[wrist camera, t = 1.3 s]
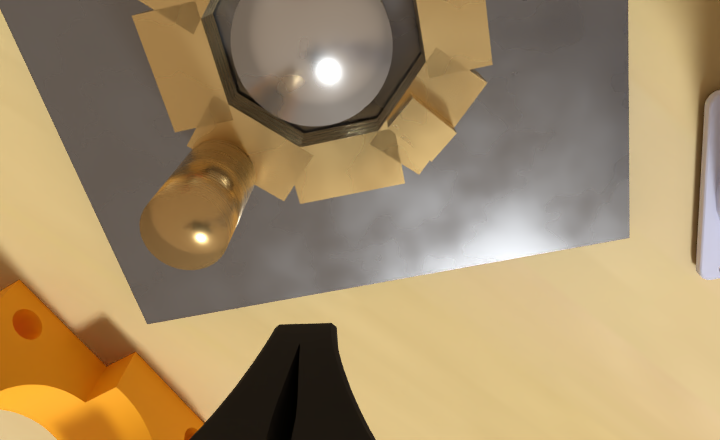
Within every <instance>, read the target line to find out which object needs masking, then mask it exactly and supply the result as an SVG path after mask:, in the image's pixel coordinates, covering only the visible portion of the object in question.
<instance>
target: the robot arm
mask: <svg viewBox="0 0 720 440" xmlns="http://www.w3.org/2000/svg"><path fill="white" fill-rule="evenodd" d="M719 267H720V90H717V91H715V92H713V93H712V94H711V95H709V97H708V98H707V100H706V102H705V108H704V127H703V145H702V164H701V182H700V201H699V219H698V238H697V256H696V271H697V273H698V274H699V275H700V276H701V277H702V278H704V279H706V280H713V279H719V278H720V268H719ZM189 440H376V439H375V438H374V436H373V434H372V432H371V431H370V429H369V427H368V425H367V423H366V421H365V419H364V417H363V415H362V413H361V411H360V409H359V407H358V404H357V402H356V400H355V398H354V395H353V393H352V391H351V388H350V385H349V383H348V380H347V377H346V374H345V372H344V369H343V365H342V362H341V358H340V354H339V350H338V339H337V327H336V326H334V325H333V324H332V323H320V324H285V325H278V326H277V327H276V328H275V329H274V331H273V333H272V335H271V336H270V338H269V339H268V341H267V343H266V344H265V346H264V347H263V349H262V350H261V352H260V353H259V355H258V356H257V358H256V359H255V361H254V362H253V364H252V365H251V366H250V368H249V369H248V371H247V372H246V373H245V375H244V376H243V377H242V379H241V380H240V381H239V383H238V384H237V385H236V387H235V388H234V389H233V391H232V392H231V393H230V394H229V395H228V397H227V398H226V399H225V400H224V401H223V403H222V404H221V405H220V406H219V407H218V409H217V410H216V411H215V412H214V413H213V415H212V416H211V417H210V418H209V419H208V420H207V421H206V422H205V423H204V425H203V426H202V427H201V428H200V429H199V430H198V431H197V432H196V433H195V434H194V435H193V436H192V437H191V438H190V439H189Z"/></svg>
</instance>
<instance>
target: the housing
mask: <svg viewBox="0 0 720 440" xmlns="http://www.w3.org/2000/svg"><path fill="white" fill-rule="evenodd" d="M0 9H1V11H2V14H3V16H4V18H5V20H6V22H7V24H8V26H9V29H10V31H11V33H12V35H13V37H14V39H15V41H16V44H17V46H18V48H19V50H20V52H21V54H22V56H23V59H24V61H25V63H26V65H27V67H28V69H29V71H30V74H31V76H32V78H33V80H34V82H35V84H36V86H37V89H38V91H39V93H40V95H41V97H42V99H43V102H44V104H45V106H46V108H47V110H48V112H49V114H50V117H51V119H52V121H53V123H54V125H55V127H56V129H57V132H58V134H59V136H60V138H61V140H62V142H63V144H64V147H65V149H66V151H67V153H68V155H69V157H70V159H71V162H72V164H73V166H74V168H75V170H76V172H77V174H78V177H79V179H80V181H81V183H82V185H83V187H84V189H85V192H86V194H87V196H88V198H89V200H90V202H91V204H92V207H93V209H94V211H95V213H96V215H97V217H98V220H99V222H100V224H101V226H102V228H103V230H104V232H105V235H106V237H107V239H108V241H109V243H110V245H111V247H112V250H113V252H114V254H115V256H116V258H117V260H118V262H119V265H120V267H121V269H122V271H123V273H124V275H125V277H126V280H127V282H128V284H129V286H130V288H131V290H132V292H133V295H134V297H135V299H136V301H137V303H138V305H139V307H140V310H141V312H142V314H143V316H144V318H145V320H146V323H147V324H151V323H157V322H162V321H168V320H173V319H179V318H185V317H190V316H196V315H201V314H207V313H212V312H218V311H224V310H229V309H235V308H240V307H246V306H252V305H257V304H263V303H268V302H274V301H279V300H285V299H291V298H296V297H302V296H307V295H313V294H318V293H324V292H330V291H335V290H341V289H346V288H352V287H358V286H363V285H369V284H374V283H380V282H385V281H391V280H397V279H402V278H408V277H413V276H419V275H425V274H430V273H436V272H441V271H447V270H452V269H458V268H464V267H469V266H475V265H480V264H486V263H491V262H497V261H503V260H508V259H514V258H519V257H525V256H531V255H536V254H542V253H547V252H553V251H558V250H564V249H570V248H575V247H581V246H586V245H592V244H597V243H603V242H609V241H614V240H620V239H625V238H629V88H628V0H486V9H487V19H488V28H489V37H490V46H491V55H492V64H493V65H489V66H485V67H480V68H475V69H474V70H476V71H477V72H478V73H479V74H480V75H481V76H482V77H483V78H484V79H485V80H486V82H487V84H486V85H485V87H484V88H483V89H482V91H481V92H480V94H479V95H478V96H477V98H476V99H475V100H474V102H473V103H472V104H471V106H470V107H469V108H468V110H467V111H466V112H465V114H464V115H463V116H462V118H461V119H460V120H459V122H458V123H457V124H456V126H455V127H454V128H455V130H456V132H457V134H456V135H455V136H454V137H453V138H452V139H451V140H450V141H449V143H448V144H447V145H446V146H445V147H444V148H443V149H442V151H441V152H440V153H439V154H438V155H437V156H436V157H435V158H434V160H433V161H432V162H431V161H429V162H428V163H427V165H426V166H425V167H424V169H423V170H422V171H421V173H420V174H417V173H415V172H414V171H412V170H411V169H409V168H407V167H406V166H404V165H402V169H403V175H404V180H405V184H400V185H395V186H390V187H385V188H380V189H374V190H369V191H364V192H359V193H354V194H349V195H344V196H339V197H333V198H328V199H323V200H318V201H313V202H308V203H303V204H300V202H299V199H298V195H297V192H296V188H295V185H294V187H293V188H292V190H291V191H290V193H289V194H288V196H287V198H286V199H285V201H283V200H281V199H279V198H277V197H275V196H274V195H272V194H270V193H268V192H267V191H265V190H263V189H261V188H260V187H258V186H256V185H254V187H253V190H252V192H251V194H250V197H249V199H248V201H247V203H246V206H245V208H244V210H243V212H242V215H241V217H240V219H239V221H238V224H237V226H236V228H235V230H234V233H233V235H232V237H231V239H230V242H229V244H228V246H227V249H226V251H225V252H224V254H223V255H222V257H221V258H220V259H219V260H218V261H217V262H215V263H214V264H212V265H210V266H208V267H206V268H203V269H199V270H182V269H177V268H174V267H171V266H169V265H166V264H165V263H163V262H161V261H160V260H158V259H157V258H156V257H155V256H154V255H152V253H151V252H150V251H149V250H148V249H147V247H146V246H145V244H144V242H143V240H142V237H141V234H140V226H139V224H140V218H141V214H142V212H143V210H144V208H145V207H146V205H147V204H148V203H149V202H150V200H151V199H152V198H153V197H154V195H155V194H156V193H157V192H158V191H159V189H160V188H161V187H162V186H163V184H164V183H165V182H166V181H167V180H168V178H169V177H170V176H171V175H172V173H173V172H174V171H175V170H176V169H177V167H178V166H179V165H180V164H181V162H182V161H183V160H184V159H185V158H186V156H187V155H188V154H189V153H190V151H191V150H192V149H191V148H189V147H188V146H187V144H188V142H189V141H190V139H191V137H192V135H193V133H194V131H195V129H196V128H193V129H189V130H184V131H179V132H175V131H174V128H173V126H172V123H171V120H170V118H169V115H168V112H167V110H166V107H165V104H164V101H163V99H162V96H161V93H160V91H159V88H158V85H157V83H156V80H155V77H154V75H153V72H152V69H151V66H150V64H149V61H148V58H147V56H146V53H145V50H144V48H143V45H142V42H141V40H140V37H139V34H138V32H137V29H136V26H135V23H134V21H133V18H132V16H133V15H136V14H139V13H142V12H145V11H148V10H152V8H150V7H149V6H147V5H145V4H144V3H142V2H141V1H139V0H0ZM213 16H214V19H215V22H216V25H217V28H218V32H219V35H220V38H221V41H222V44H223V48H224V51H225V54H226V57H227V61H228V64H229V67H230V70H231V73H232V77H233V80H234V83H235V86H236V89H237V93H238V94H240V95H242V96H243V97H245V98H247V99H248V100H250V101H252V102H253V103H255V104H256V105H258V106H260V107H261V108H263V109H265V110H266V111H268V112H270V113H271V114H272V115H274V116H276V117H278V118H279V119H281V120H283V121H284V122H286V123H288V124H289V125H291V126H293V127H294V128H296V129H298V130H299V131H301V132H303V133H309V132H314V131H319V130H323V129H328V128H333V127H338V126H343V125H347V124H352V123H357V122H362V121H367V120H372V119H376V118H378V117H379V115H380V114H381V112H382V111H383V109H384V108H385V106H386V105H387V103H388V102H389V100H390V99H391V97H392V96H393V94H394V93H395V92H396V90H397V89H398V87H399V86H400V84H401V83H402V81H403V80H404V78H405V77H406V75H407V74H408V72H409V71H410V69H411V68H412V66H413V65H414V63H415V62H416V61H417V59H418V58H419V56H420V55H421V47H420V41H419V34H418V28H417V22H416V16H415V10H414V4H413V0H219V2H218V4H217V6H216V8H215V10H214V12H213Z"/></svg>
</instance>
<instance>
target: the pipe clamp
mask: <svg viewBox="0 0 720 440" xmlns="http://www.w3.org/2000/svg"><path fill="white" fill-rule="evenodd" d="M0 409H1V410H7V411H12V412H15V413H18V414H21V415H24V416H26V417H28V418H30V419H32V420H34V421H36V422H37V423H39V424H40V425H42V426H43V427H45V428H46V429H47V430H48V431H49V432H50V433H51V434H52V435H53V436H54V437H55V438H56V439H57V440H189V439H190V438H191V437H192V436H193V435H194V434H195V433H196V432H197V431H198V430H199V429H200V428H201V427H202V426H203V425H204V423H203V422H202V421H201V420H200V419H199V417H198V416H197V415H196V414H195V413H194V412H193V411H192V410H191V409H190V408H189V407H188V406H187V405H186V404H185V403H184V402H183V401H182V400H181V399H180V398H179V397H178V396H177V394H176V393H175V392H174V391H173V390H172V389H171V388H170V387H169V386H168V385H167V384H166V383H165V382H164V381H163V380H162V379H161V378H160V377H159V376H158V375H157V374H156V373H155V371H154V370H153V369H152V368H151V367H150V366H149V365H148V364H147V363H146V362H145V361H144V360H143V359H142V358H141V357H140V356H139V355H138V354H137V353H136V352H134V353H132V354H130V355H128V356H126V357H125V358H123V359H121V360H119V361H117V362H115V363H113V364H111V365H109V366H107V367H106V366H105V365H104V364H103V363H102V362H101V361H100V360H99V359H98V358H97V357H96V356H95V355H94V354H93V353H92V352H91V351H90V350H89V349H88V348H87V347H86V346H85V345H84V344H83V343H82V342H81V341H80V340H79V339H78V338H77V337H76V336H75V335H74V334H73V333H72V332H71V331H70V330H69V329H68V328H67V327H66V326H65V325H64V324H63V323H62V322H61V321H60V320H59V319H58V318H57V317H56V316H55V315H54V314H53V313H52V312H51V311H50V310H49V309H48V308H47V307H46V306H45V305H44V304H43V303H42V302H41V301H40V300H39V299H38V298H37V297H36V296H35V295H34V294H33V293H32V292H31V291H30V290H29V289H28V288H27V287H26V286H25V285H24V284H23V283H22V282H21V281H20V280H18V281H16V282H15V283H13V284H11V285H9V286H8V287H6V288H4V289H3V290H1V291H0Z"/></svg>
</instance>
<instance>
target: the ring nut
mask: <svg viewBox="0 0 720 440" xmlns="http://www.w3.org/2000/svg"><path fill="white" fill-rule="evenodd" d="M139 1H141V2H142V3H144V4H145V5H147V6H149V7H150V8H152V10H148V11H145V12H142V13H139V14H136V15H133V16H132V18H133V21H134V23H135V26H136V29H137V32H138V34H139V37H140V40H141V42H142V45H143V48H144V50H145V53H146V56H147V58H148V61H149V64H150V66H151V69H152V72H153V75H154V77H155V80H156V83H157V85H158V88H159V91H160V93H161V96H162V99H163V101H164V104H165V107H166V110H167V112H168V115H169V118H170V120H171V123H172V126H173V128H174V131H175V132H179V131H184V130H189V129H193V128H196V129H195V131H194V133H193V135H192V137H191V139H190V141H189V142H188V144H187V146H188V147H189V148H191V149H192V150H191V151H190V153H189V154H188V155H187V156H186V158H185V159H184V160H183V161H182V162H181V164H180V165H179V166H178V167H177V169H176V170H175V171H174V172H173V173H172V175H171V176H170V177H169V178H168V180H167V181H166V182H165V183H164V184H163V186H162V187H161V188H160V189H159V191H158V192H157V193H156V194H155V195H154V197H153V198H152V199H151V200H150V202H149V203H148V204H147V205H146V207H145V208H144V210H143V212H142V214H141V218H140V224H139V226H140V234H141V237H142V240H143V242H144V244H145V246H146V247H147V249H148V250H149V251H150V252H151V253H152V255H154V256H155V257H156V258H157V259H158V260H160V261H161V262H163V263H165V264H166V265H169V266H171V267H174V268H177V269H182V270H199V269H203V268H206V267H208V266H210V265H212V264H214V263H215V262H217V261H218V260H219V259H220V258H221V257H222V255H223V254H224V252H225V251H226V249H227V246H228V244H229V242H230V239H231V237H232V235H233V233H234V230H235V228H236V226H237V224H238V221H239V219H240V217H241V215H242V212H243V210H244V208H245V206H246V203H247V201H248V199H249V197H250V194H251V192H252V190H253V187H254V185H256V186H258V187H260V188H261V189H263V190H265V191H267V192H268V193H270V194H272V195H274V196H275V197H277V198H279V199H281V200H283V201H285V199H286V198H287V196H288V194H289V193H290V191H291V190H292V188H293V187H294V185H295V188H296V192H297V195H298V199H299V202H300V204H303V203H308V202H313V201H318V200H323V199H328V198H333V197H339V196H344V195H349V194H354V193H359V192H364V191H369V190H374V189H380V188H385V187H390V186H395V185H400V184H405V180H404V175H403V169H402V165H404V166H406V167H407V168H409V169H411V170H412V171H414V172H415V173H417V174H420V173H421V171H422V170H423V169H424V167H425V166H426V165H427V163H428V162H429V161H431V162H432V161H433V160H434V158H435V157H436V156H437V155H438V154H439V153H440V152H441V151H442V149H443V148H444V147H445V146H446V145H447V144H448V143H449V141H450V140H451V139H452V138H453V137H454V136H455V135H456V134H457V132H456V130H455V128H454V127H455V126H456V124H457V123H458V122H459V120H460V119H461V118H462V116H463V115H464V114H465V112H466V111H467V110H468V108H469V107H470V106H471V104H472V103H473V102H474V100H475V99H476V98H477V96H478V95H479V94H480V92H481V91H482V89H483V88H484V87H485V85H486V84H487V82H486V80H485V79H484V78H483V77H482V76H481V75H480V74H479V73H478V72H477V71H476V70H474V69H475V68H480V67H485V66H489V65H493V64H492V55H491V46H490V37H489V28H488V19H487V9H486V0H413V4H414V10H415V16H416V22H417V28H418V34H419V41H420V47H421V55H420V56H419V58H418V59H417V61H416V62H415V63H414V65H413V66H412V68H411V69H410V71H409V72H408V74H407V75H406V77H405V78H404V80H403V81H402V83H401V84H400V86H399V87H398V89H397V90H396V92H395V93H394V94H393V96H392V97H391V99H390V100H389V102H388V103H387V105H386V106H385V108H384V109H383V111H382V112H381V114H380V115H379V117H378V118H376V119H372V120H367V121H362V122H357V123H352V124H347V125H343V126H338V127H333V128H328V129H323V130H319V131H314V132H309V133H303V132H301V131H299V130H298V129H296V128H294V127H293V126H291V125H289V124H288V123H286V122H284V121H283V120H281V119H279V118H278V117H276V116H274V115H272V114H271V113H270V112H268V111H266V110H265V109H263V108H261V107H260V106H258V105H256V104H255V103H253V102H252V101H250V100H248V99H247V98H245V97H243V96H242V95H240V94H238V93H237V89H236V86H235V83H234V80H233V77H232V73H231V70H230V67H229V64H228V61H227V57H226V54H225V51H224V48H223V44H222V41H221V38H220V35H219V32H218V28H217V25H216V22H215V19H214V16H213V12H214V10H215V8H216V6H217V4H218V2H219V0H139Z"/></svg>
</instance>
